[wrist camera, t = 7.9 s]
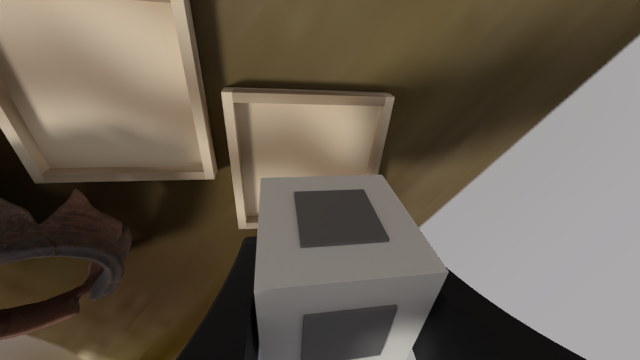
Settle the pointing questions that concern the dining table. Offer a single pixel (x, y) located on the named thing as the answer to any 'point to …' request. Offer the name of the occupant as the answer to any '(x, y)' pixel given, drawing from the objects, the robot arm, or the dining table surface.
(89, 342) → the dining table surface
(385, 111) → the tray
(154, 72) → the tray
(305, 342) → the white marked cube
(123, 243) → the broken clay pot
